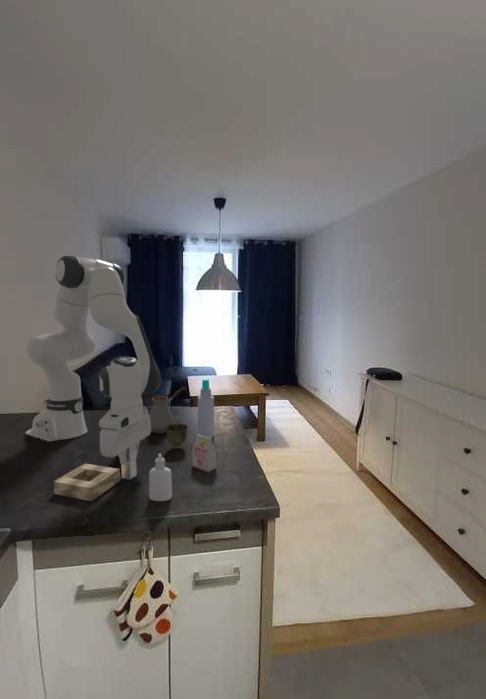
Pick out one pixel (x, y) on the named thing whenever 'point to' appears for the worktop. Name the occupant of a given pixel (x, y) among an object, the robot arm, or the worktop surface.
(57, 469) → the worktop surface
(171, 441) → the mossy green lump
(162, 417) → the coffee pot
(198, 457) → the white and red box
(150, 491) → the eye dropper bottle
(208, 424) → the spray bottle
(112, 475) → the tan square ring
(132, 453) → the metal peg
